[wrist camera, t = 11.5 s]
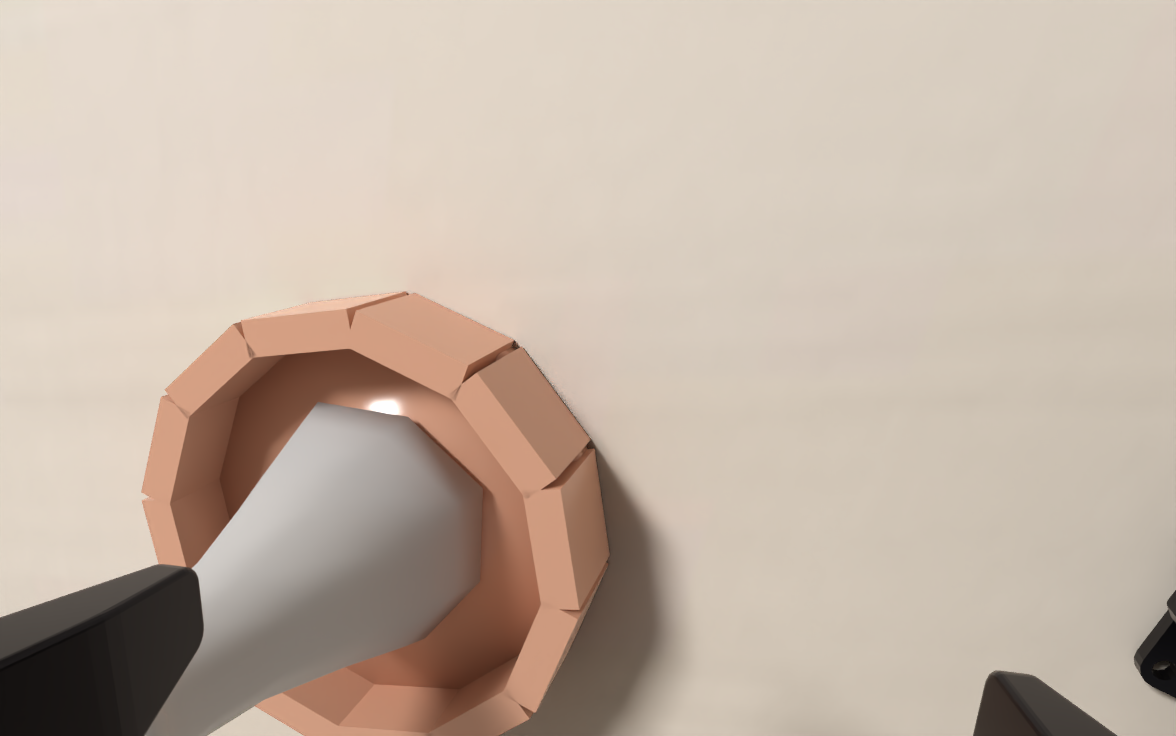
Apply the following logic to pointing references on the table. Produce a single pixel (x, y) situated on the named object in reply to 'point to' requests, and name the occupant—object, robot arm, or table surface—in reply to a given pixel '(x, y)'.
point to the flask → (328, 564)
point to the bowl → (464, 432)
